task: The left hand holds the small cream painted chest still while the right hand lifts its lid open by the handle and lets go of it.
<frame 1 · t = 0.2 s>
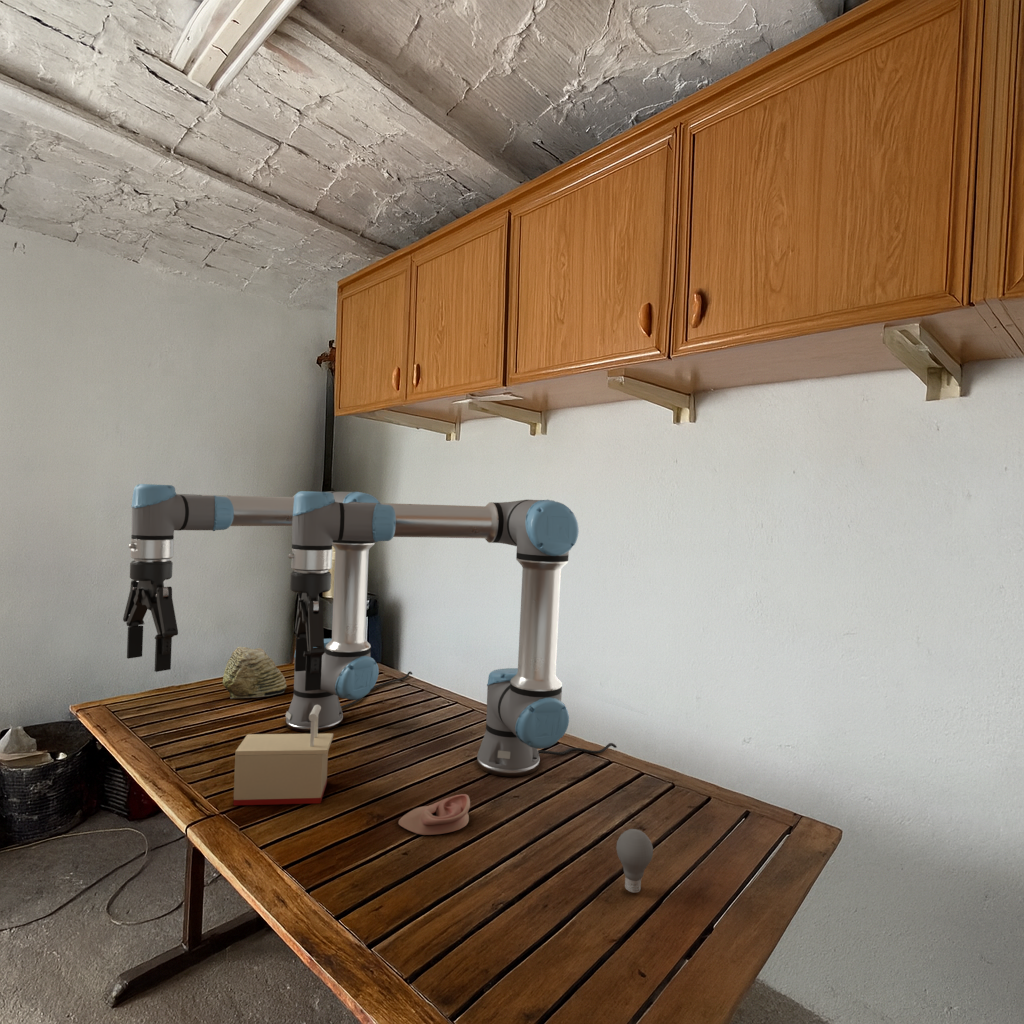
left hand: (148, 663, 129), 28 cm above the table, tool pointing down, fingers open, 13 cm apart
right hand: (307, 679, 123), 28 cm above the table, tool pointing down, fingers open, 13 cm apart
lid: (287, 727, 134), point 14 cm above the table, hinge at 0.0°
light bulb: (632, 891, 106), on the table
fossil: (254, 694, 198), on the table
anatomical model: (434, 822, 125), on the table
chest: (282, 793, 134), on the table
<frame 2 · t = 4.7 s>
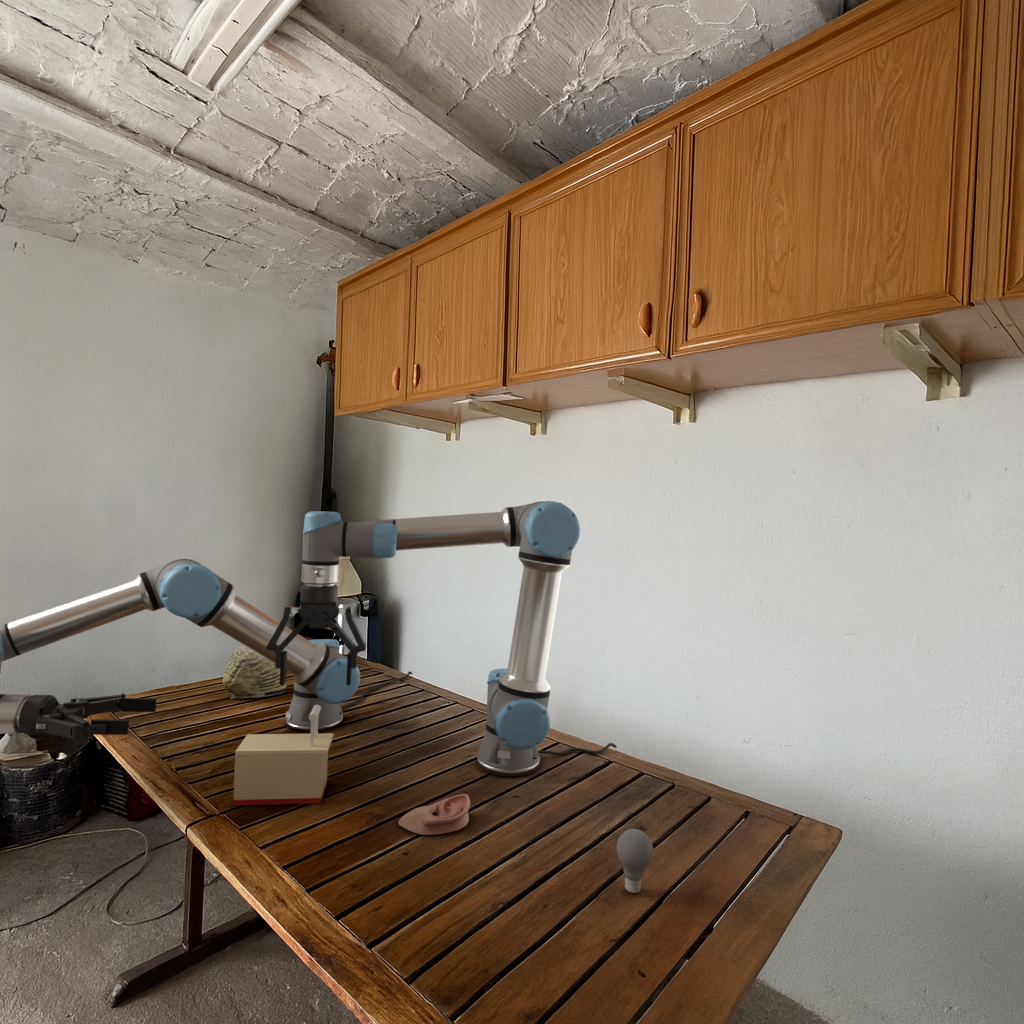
left hand: (142, 715, 130), 17 cm above the table, tool horizontal, fingers open, 13 cm apart
right hand: (316, 683, 135), 24 cm above the table, tool pointing down, fingers open, 13 cm apart
nothing on the table moved.
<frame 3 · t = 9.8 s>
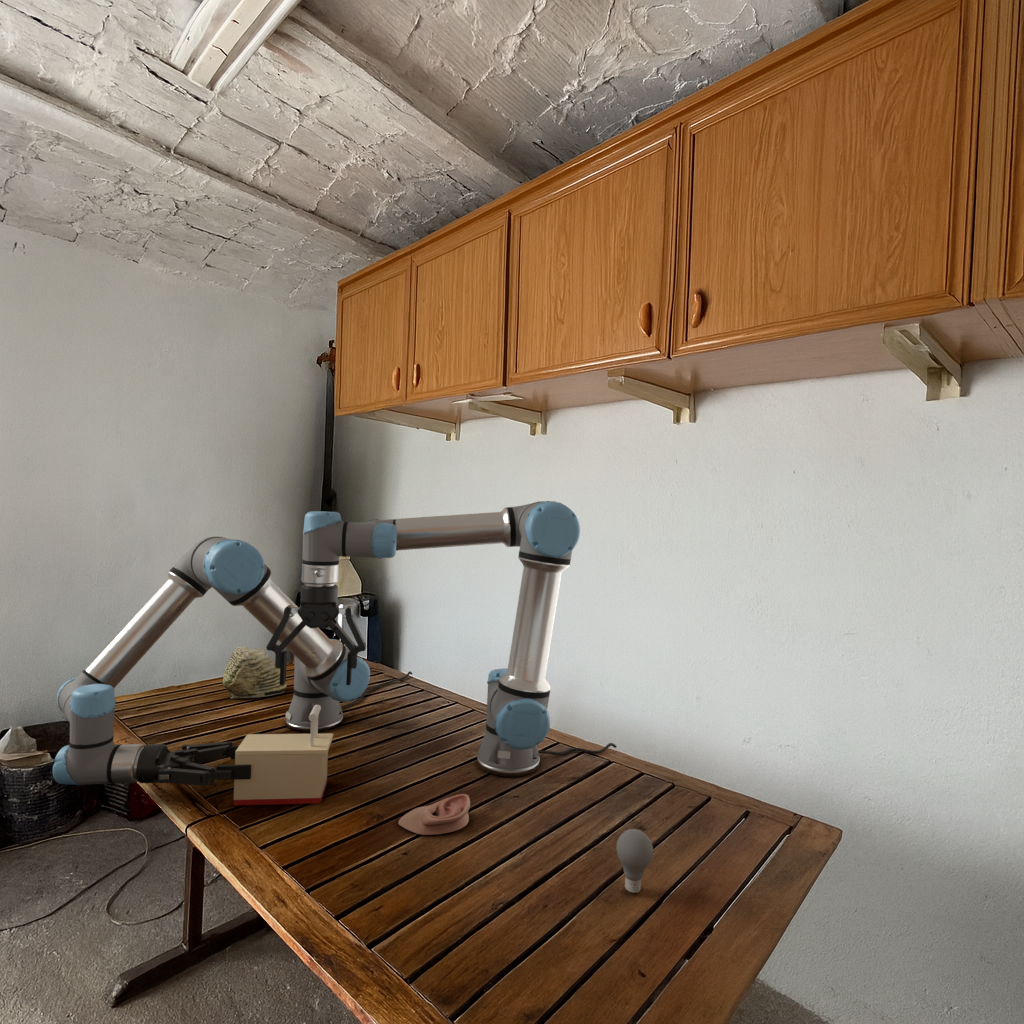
left hand: (256, 761, 133), 7 cm above the table, tool horizontal, fingers closed on chest, 9 cm apart
right hand: (316, 683, 135), 24 cm above the table, tool pointing down, fingers open, 13 cm apart
chest: (282, 793, 134), on the table, touching left hand
everything else where it was.
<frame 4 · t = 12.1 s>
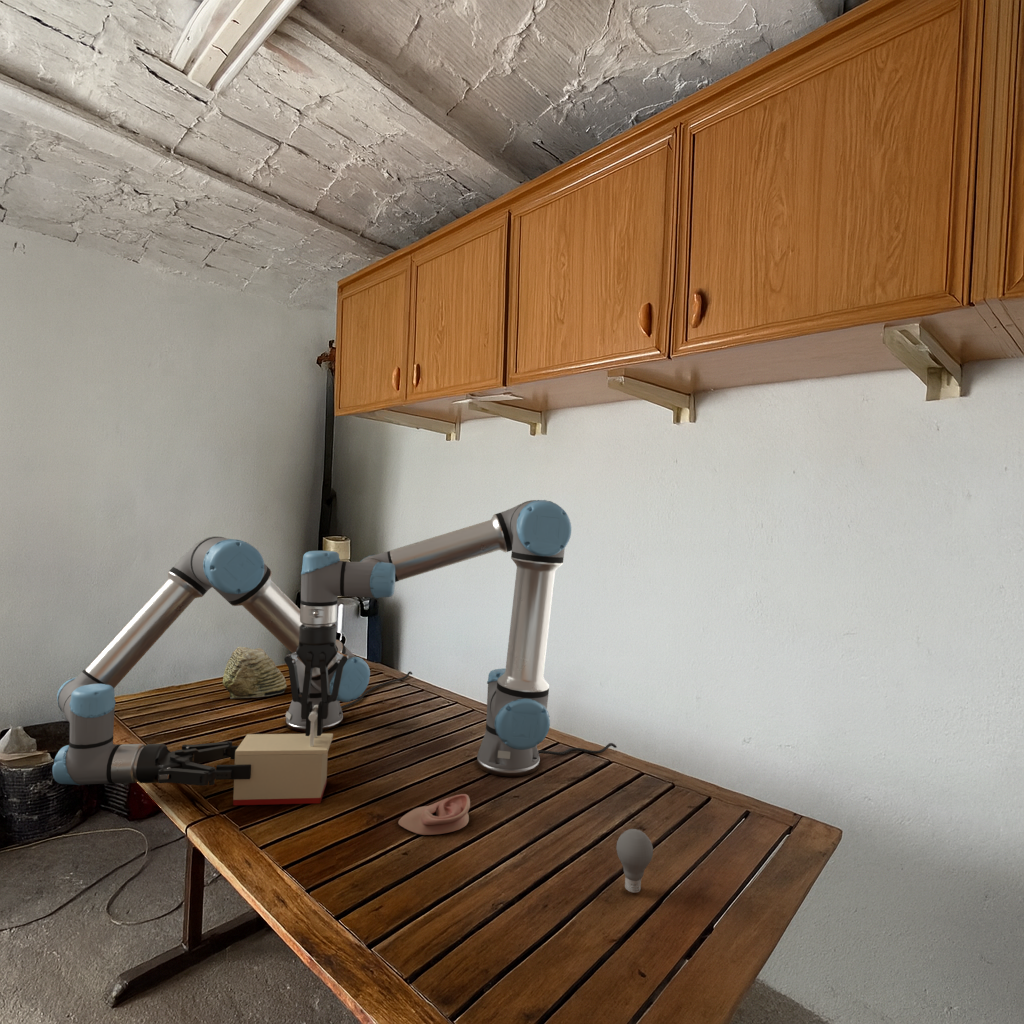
left hand: (256, 761, 133), 7 cm above the table, tool horizontal, fingers closed on chest, 9 cm apart
right hand: (314, 733, 135), 13 cm above the table, tool pointing down, fingers closed on lid, 2 cm apart
lid: (286, 727, 134), point 14 cm above the table, hinge at -0.1°, touching right hand
chest: (281, 793, 134), on the table, touching left hand
everything else where it was.
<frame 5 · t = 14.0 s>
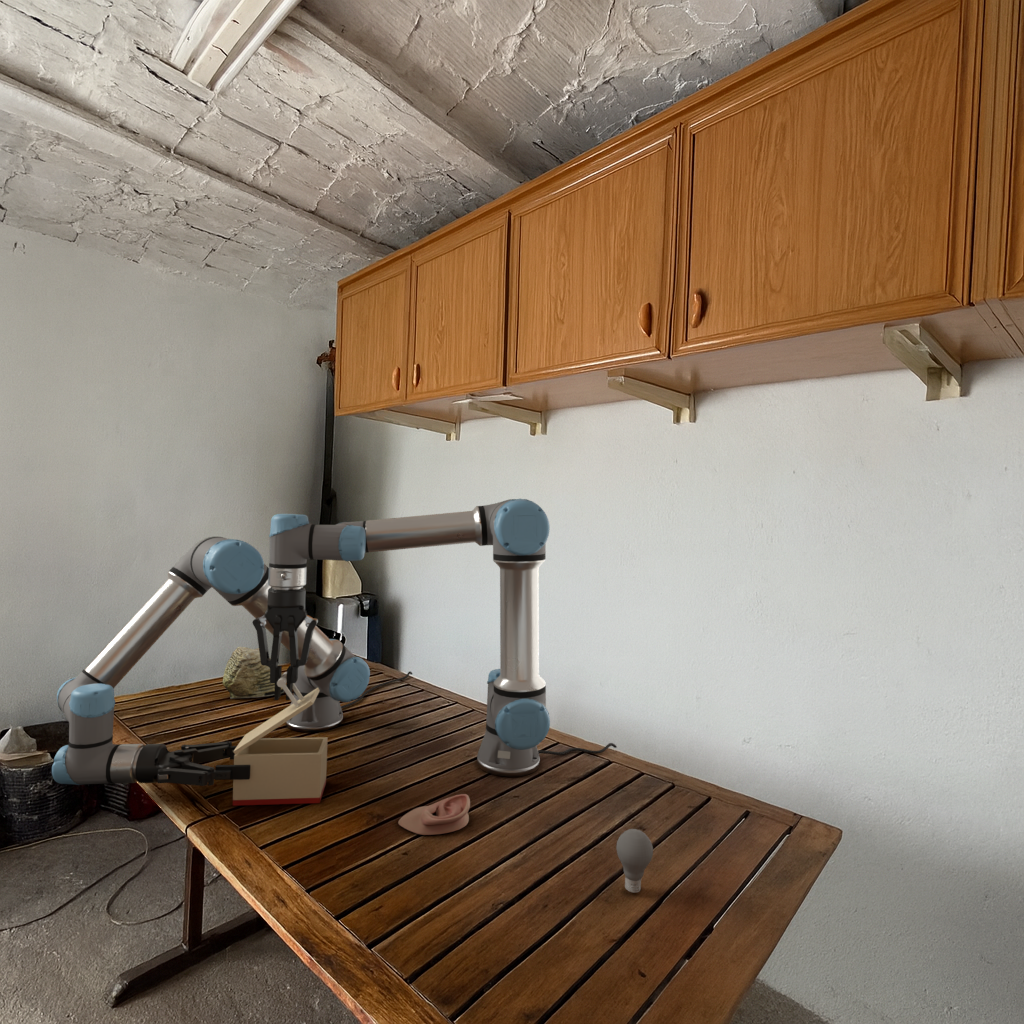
left hand: (255, 761, 133), 7 cm above the table, tool horizontal, fingers closed on chest, 9 cm apart
right hand: (283, 697, 134), 21 cm above the table, tool pointing down, fingers closed on lid, 2 cm apart
lid: (269, 706, 133), point 19 cm above the table, hinge at 34.6°, touching right hand
chest: (281, 793, 134), on the table, touching left hand
everything else where it was.
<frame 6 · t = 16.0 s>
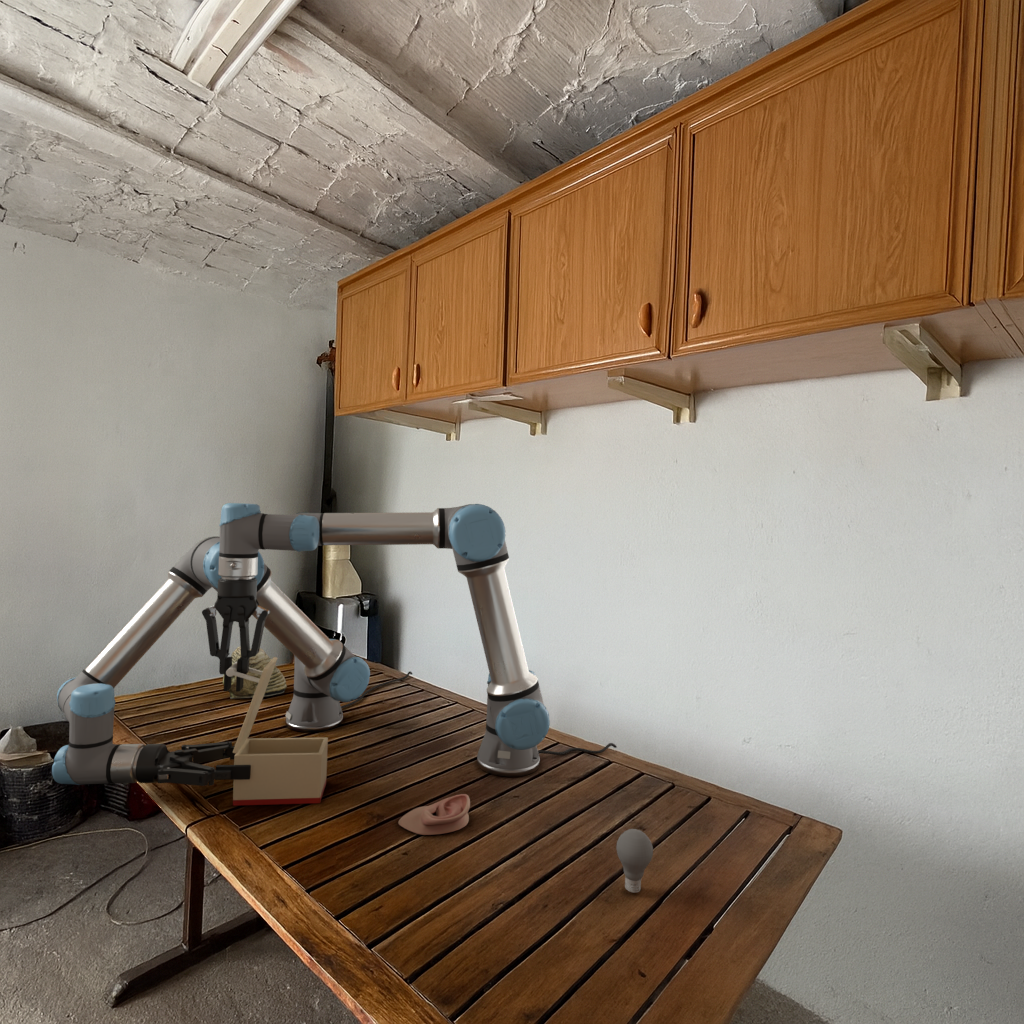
left hand: (256, 761, 133), 7 cm above the table, tool horizontal, fingers closed on chest, 9 cm apart
right hand: (233, 689, 132), 22 cm above the table, tool pointing down, fingers closed
lid: (239, 698, 133), point 20 cm above the table, hinge at 72.3°
chest: (281, 793, 134), on the table, touching left hand
everything else where it was.
when the left hand's fingers open (7 cm above the table, at t = 20.3 s): chest stays where it is, on the table.
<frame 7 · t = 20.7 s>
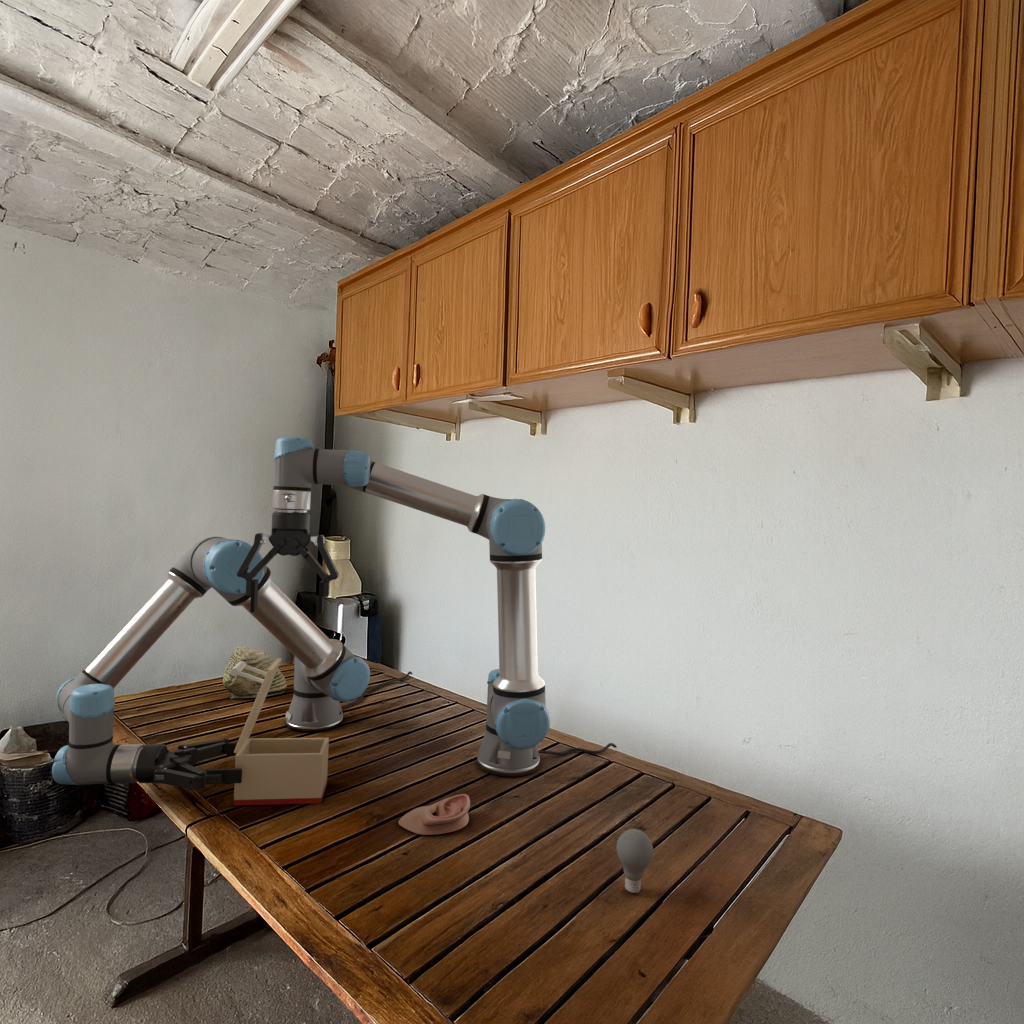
left hand: (250, 761, 133), 7 cm above the table, tool horizontal, fingers open, 13 cm apart
right hand: (287, 612, 134), 39 cm above the table, tool pointing down, fingers open, 13 cm apart
lid: (242, 698, 133), point 20 cm above the table, hinge at 70.3°
chest: (282, 793, 134), on the table
everything else where it was.
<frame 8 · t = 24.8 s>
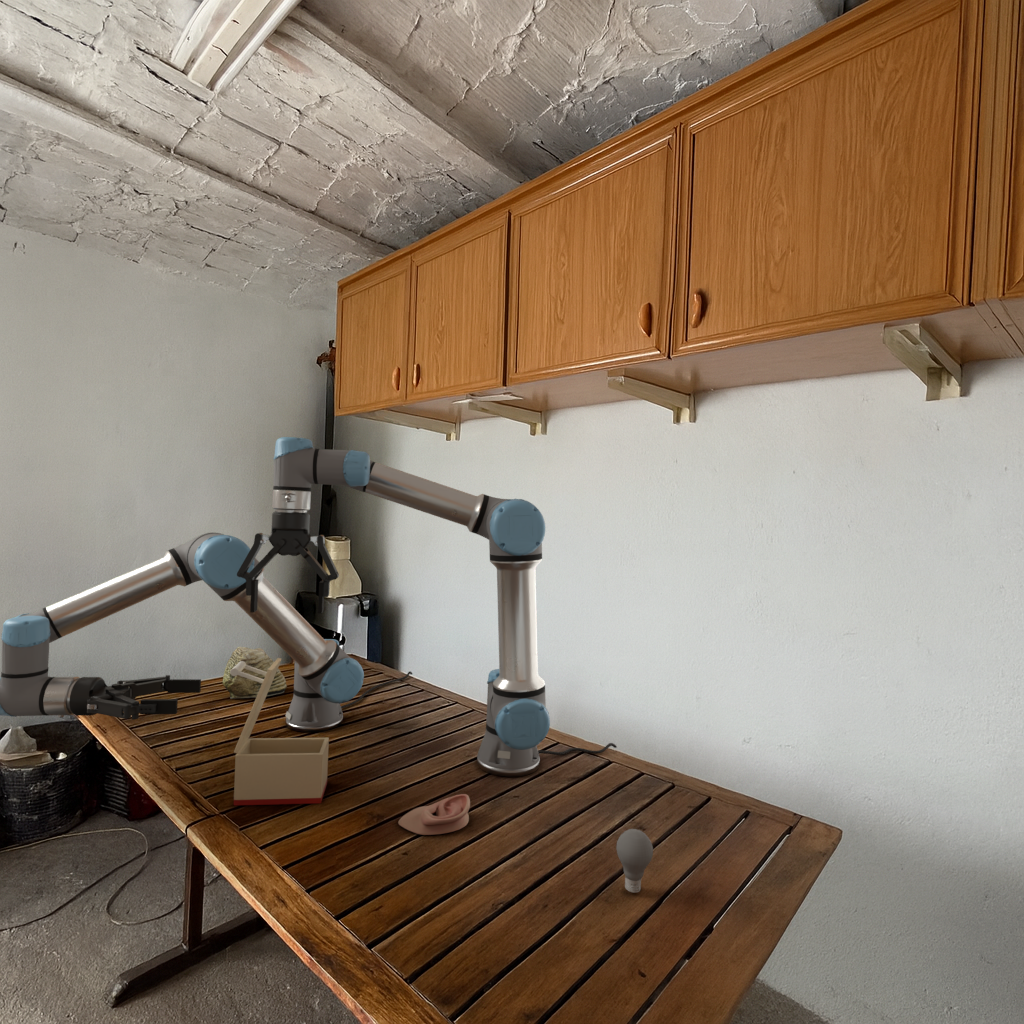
left hand: (189, 695, 131), 21 cm above the table, tool horizontal, fingers open, 13 cm apart
right hand: (287, 612, 134), 39 cm above the table, tool pointing down, fingers open, 13 cm apart
nothing on the table moved.
at the end: lid at +70° (first picture: +0°); the left hand is holding nothing; the right hand is holding nothing; chest tilted 0°; chest never tilted more than 1° during the clip; chest moved 0.1 cm from its start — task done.
